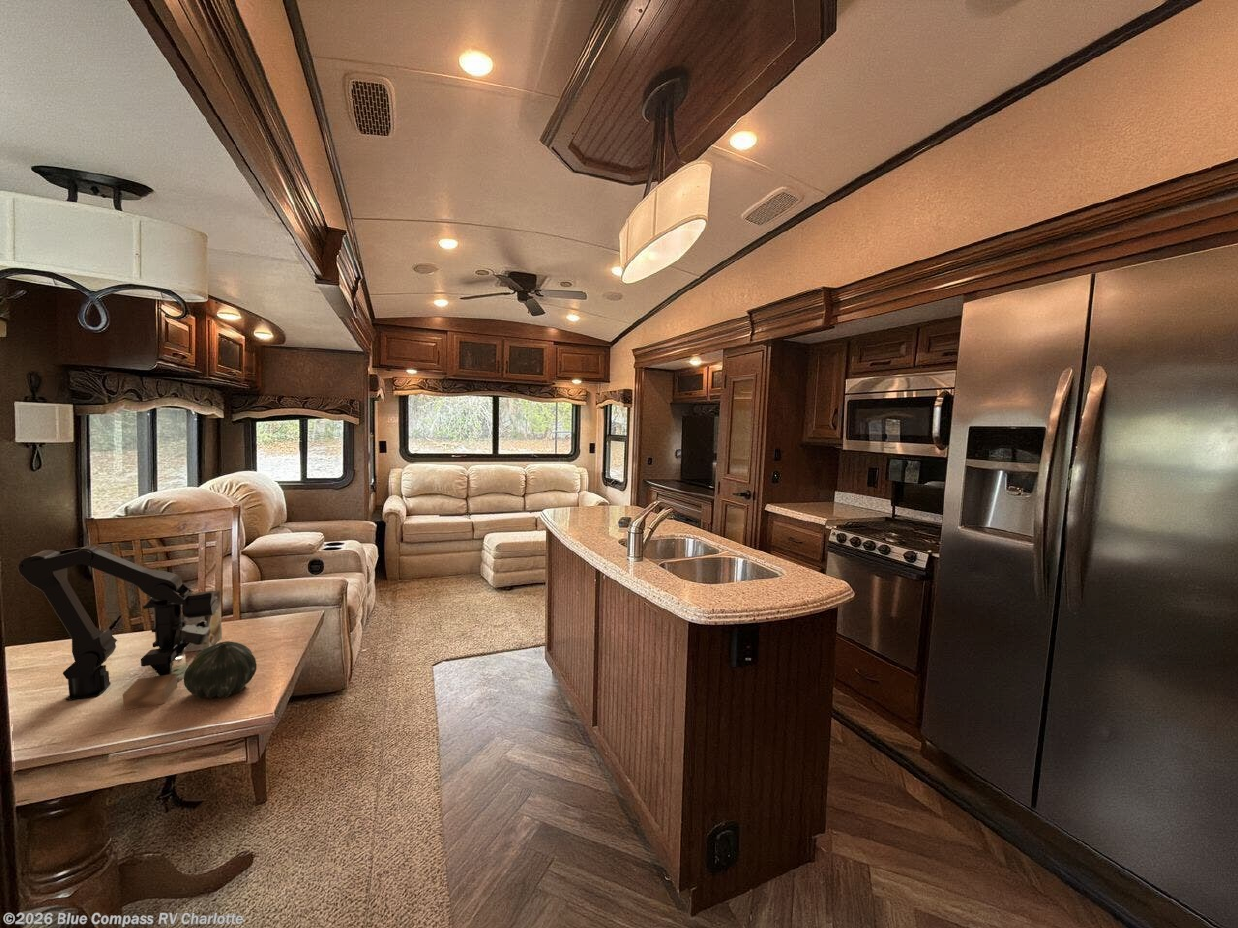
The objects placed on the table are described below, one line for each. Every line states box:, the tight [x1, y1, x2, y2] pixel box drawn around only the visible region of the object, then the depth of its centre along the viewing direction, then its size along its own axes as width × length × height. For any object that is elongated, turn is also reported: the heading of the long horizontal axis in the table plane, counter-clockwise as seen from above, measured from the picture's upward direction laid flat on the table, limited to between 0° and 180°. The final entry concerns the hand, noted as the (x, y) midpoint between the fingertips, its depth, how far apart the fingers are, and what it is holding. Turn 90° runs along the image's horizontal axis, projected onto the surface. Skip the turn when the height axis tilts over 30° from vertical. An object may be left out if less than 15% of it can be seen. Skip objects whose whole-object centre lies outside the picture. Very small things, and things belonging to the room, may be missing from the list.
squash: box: [183, 640, 258, 699], centre depth 134 cm, size 14×15×15 cm
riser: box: [122, 674, 178, 711], centre depth 131 cm, size 8×8×4 cm
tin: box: [156, 652, 187, 683], centre depth 140 cm, size 6×6×6 cm
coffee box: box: [183, 590, 223, 652], centre depth 160 cm, size 9×6×16 cm
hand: (172, 674), depth 140 cm, fingers closed on tin, 6 cm apart
